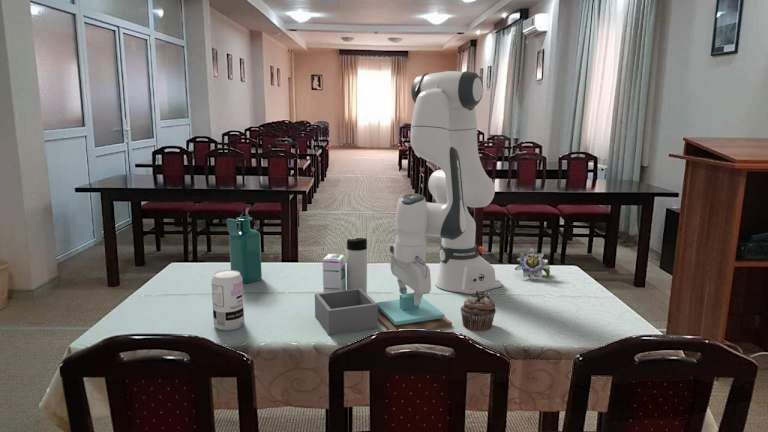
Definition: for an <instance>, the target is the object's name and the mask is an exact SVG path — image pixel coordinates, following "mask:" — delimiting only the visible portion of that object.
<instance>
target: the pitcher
mask: <svg viewBox="0 0 768 432" xmlns="http://www.w3.org/2000/svg"><path fill="white" fill-rule="evenodd" d="M252 220H253V217H250V216H239V217H236V219H234V218H226V221H225V222H226V226H227V227H226V229H227V232H228V234H229V237H228V240H229V257H230V258H229V261H230V270H235V271H238V272H240V275H241V276H242V282H243V285H245V284H251V283H254V282H257V281H260V280H261V279H262V275H263V274H262V248H261V246H262V245H261V234H260V232H259V231H257V230H255V229H252V228H251V226H250V225H251V223H250V221H252Z"/></svg>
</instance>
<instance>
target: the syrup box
mask: <svg viewBox="0 0 768 432" xmlns="http://www.w3.org/2000/svg"><path fill="white" fill-rule="evenodd" d="M322 281H323V282H322V287H323V292H322V293H324V292H332V291H340V290H347V269H346V254H341V253H328V254H327V255H326V256H324V258H322Z"/></svg>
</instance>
